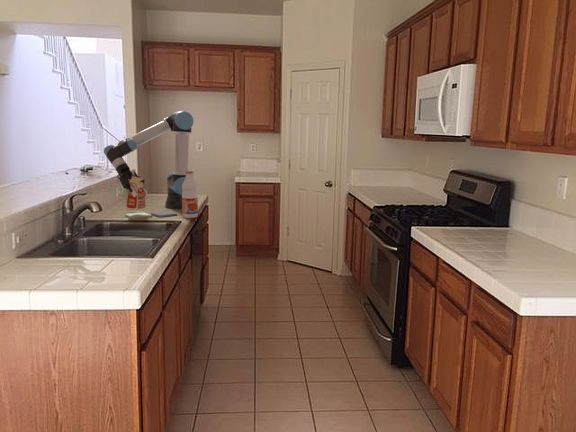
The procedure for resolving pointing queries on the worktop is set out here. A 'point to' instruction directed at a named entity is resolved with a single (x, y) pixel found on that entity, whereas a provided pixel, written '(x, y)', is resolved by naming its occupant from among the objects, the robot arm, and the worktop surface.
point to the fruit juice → (189, 196)
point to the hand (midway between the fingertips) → (141, 195)
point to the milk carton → (139, 200)
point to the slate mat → (163, 214)
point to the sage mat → (138, 215)
